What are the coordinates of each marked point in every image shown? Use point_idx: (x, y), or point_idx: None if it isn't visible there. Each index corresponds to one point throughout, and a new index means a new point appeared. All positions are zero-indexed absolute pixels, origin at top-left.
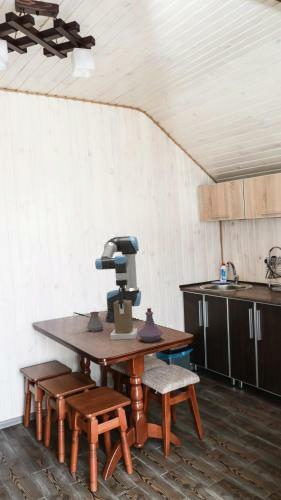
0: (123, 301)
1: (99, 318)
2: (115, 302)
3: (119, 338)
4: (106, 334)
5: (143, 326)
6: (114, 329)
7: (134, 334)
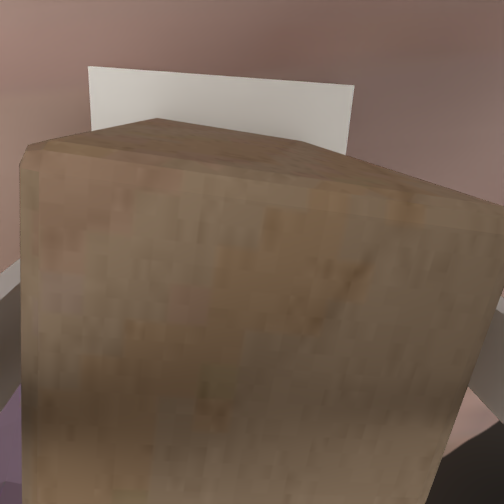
0: (245, 431)
1: None
2: (106, 209)
3: None
4: (321, 4)
5: (10, 449)
6: (337, 93)
7: None
